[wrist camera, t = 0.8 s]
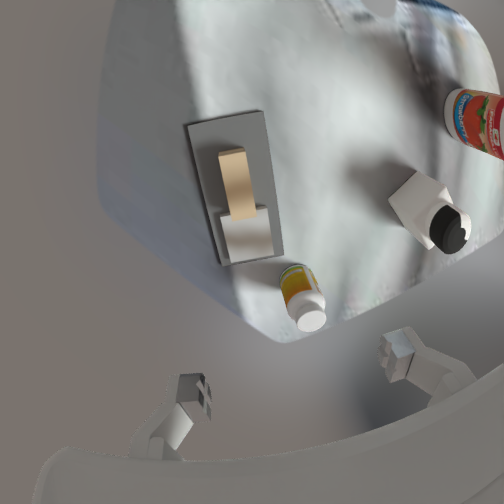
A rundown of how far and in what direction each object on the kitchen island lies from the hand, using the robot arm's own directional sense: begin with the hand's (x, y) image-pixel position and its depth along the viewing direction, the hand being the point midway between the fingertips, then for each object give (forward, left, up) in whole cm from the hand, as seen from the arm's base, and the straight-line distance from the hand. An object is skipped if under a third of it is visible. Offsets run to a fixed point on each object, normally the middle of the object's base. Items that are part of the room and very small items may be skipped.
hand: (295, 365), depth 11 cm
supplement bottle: (+16, +5, -27) cm, 32 cm away
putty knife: (+2, -1, -26) cm, 26 cm away
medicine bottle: (+6, +25, -27) cm, 37 cm away
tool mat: (+1, -1, -27) cm, 27 cm away
